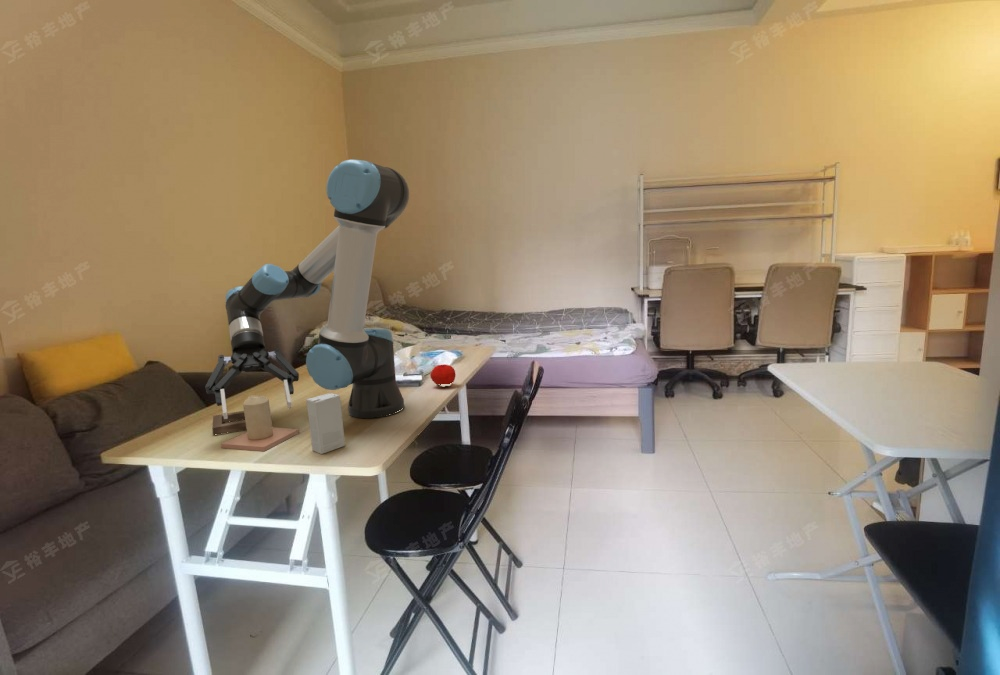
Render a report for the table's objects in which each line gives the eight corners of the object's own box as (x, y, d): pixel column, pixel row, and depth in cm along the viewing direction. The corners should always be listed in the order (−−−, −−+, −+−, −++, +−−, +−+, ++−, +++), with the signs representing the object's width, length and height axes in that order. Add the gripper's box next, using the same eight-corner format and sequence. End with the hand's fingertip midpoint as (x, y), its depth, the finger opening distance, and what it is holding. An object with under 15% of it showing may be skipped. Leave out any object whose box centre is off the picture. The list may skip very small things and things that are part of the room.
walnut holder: (263, 414, 141) (262, 407, 141) (266, 426, 131) (265, 418, 130) (214, 422, 136) (213, 415, 135) (213, 435, 125) (212, 428, 125)
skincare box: (335, 442, 117) (330, 391, 115) (346, 446, 114) (341, 394, 112) (310, 451, 112) (305, 398, 110) (321, 455, 109) (315, 401, 107)
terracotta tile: (299, 432, 124) (299, 429, 124) (264, 451, 113) (263, 447, 113) (259, 430, 128) (259, 426, 128) (221, 447, 116) (220, 443, 116)
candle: (277, 431, 123) (272, 392, 121) (265, 440, 117) (259, 398, 116) (256, 432, 123) (250, 392, 122) (243, 440, 118) (237, 399, 116)
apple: (427, 389, 160) (426, 366, 159) (437, 383, 168) (435, 361, 166) (451, 390, 158) (449, 367, 157) (459, 384, 165) (458, 361, 164)
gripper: (299, 342, 137) (313, 408, 126) (192, 354, 125) (198, 429, 114) (299, 324, 131) (315, 392, 121) (188, 335, 119) (194, 412, 109)
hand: (258, 410), depth 117 cm, fingers open, 13 cm apart
